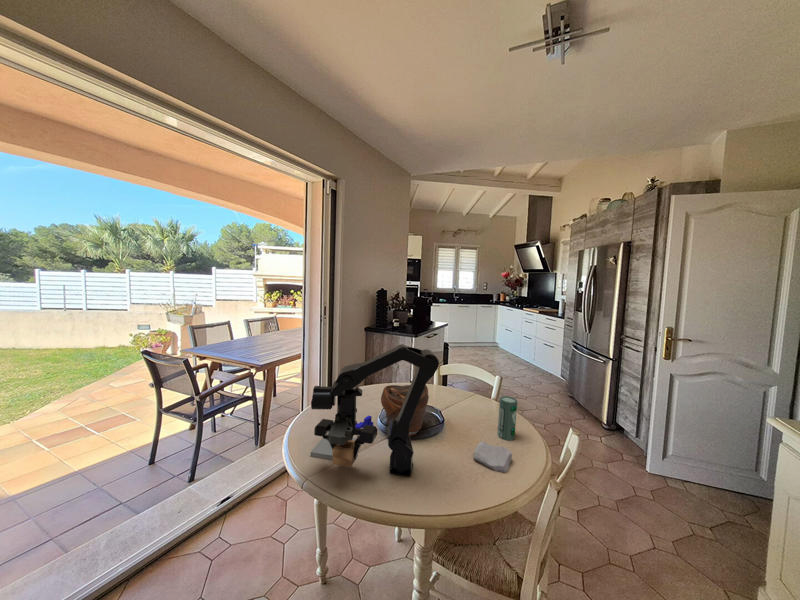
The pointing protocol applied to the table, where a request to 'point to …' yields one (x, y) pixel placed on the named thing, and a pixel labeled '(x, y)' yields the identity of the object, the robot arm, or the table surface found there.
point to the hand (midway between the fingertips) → (345, 456)
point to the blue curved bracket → (365, 422)
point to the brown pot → (394, 401)
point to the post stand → (323, 450)
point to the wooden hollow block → (344, 454)
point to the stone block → (493, 456)
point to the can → (507, 418)
